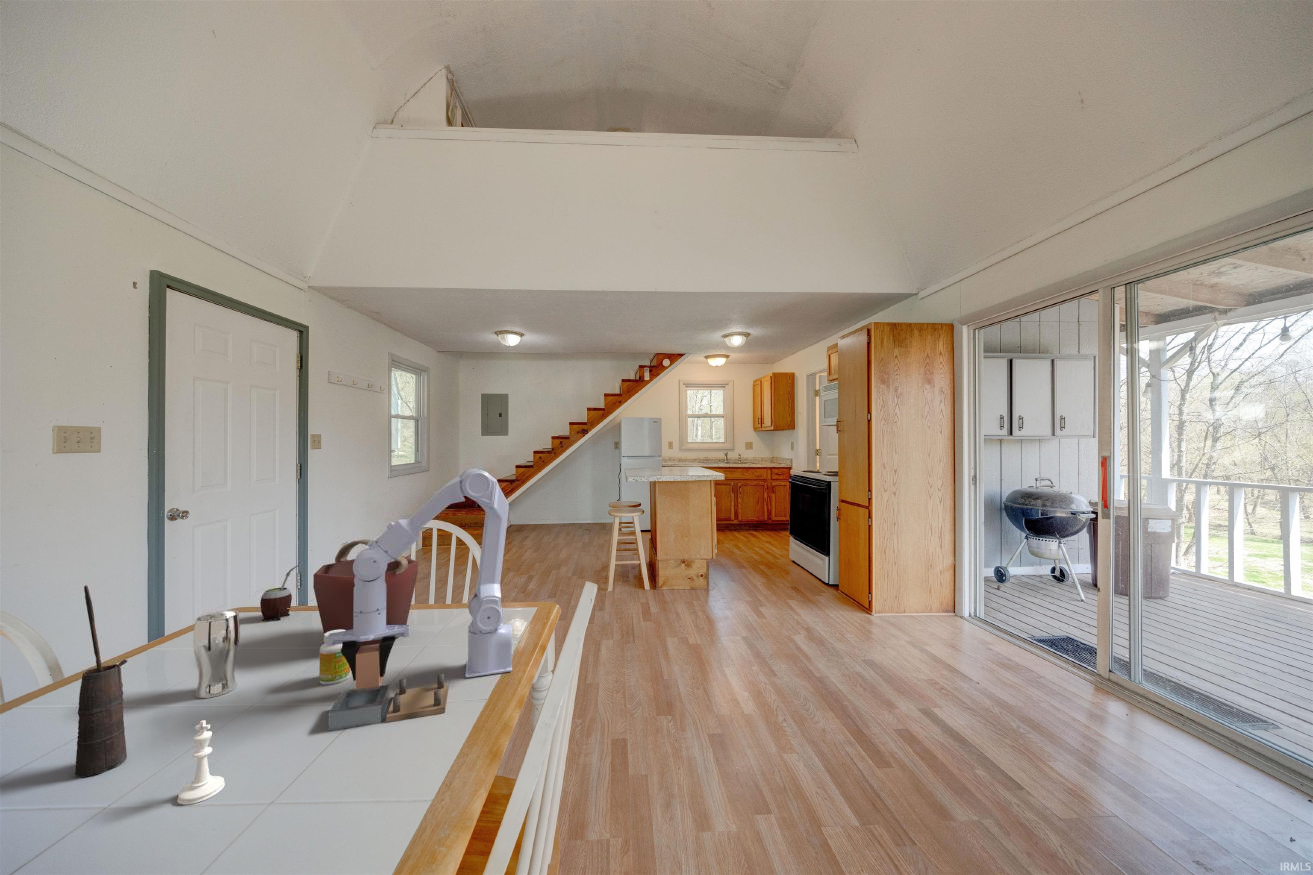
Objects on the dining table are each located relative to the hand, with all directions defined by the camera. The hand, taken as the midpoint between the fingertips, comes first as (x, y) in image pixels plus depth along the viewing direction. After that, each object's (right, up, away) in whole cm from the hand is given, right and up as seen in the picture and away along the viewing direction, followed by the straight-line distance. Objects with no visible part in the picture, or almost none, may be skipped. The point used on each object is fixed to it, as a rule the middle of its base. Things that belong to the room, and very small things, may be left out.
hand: (369, 676), depth 99 cm
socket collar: (+4, -3, -9) cm, 10 cm away
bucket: (-17, -4, +26) cm, 31 cm away
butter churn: (-27, -3, -22) cm, 35 cm away
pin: (0, -2, 0) cm, 2 cm away
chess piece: (-7, -3, -29) cm, 30 cm away
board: (+13, -3, -5) cm, 14 cm away
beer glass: (-31, -3, 0) cm, 31 cm away
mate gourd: (-51, -4, +42) cm, 66 cm away
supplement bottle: (-10, -3, +5) cm, 12 cm away
